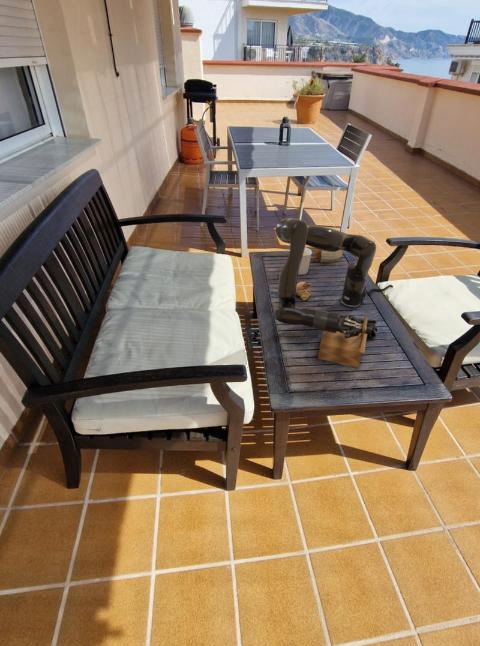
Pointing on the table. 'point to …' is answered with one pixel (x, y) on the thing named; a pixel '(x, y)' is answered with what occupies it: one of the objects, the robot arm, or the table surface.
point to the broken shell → (303, 290)
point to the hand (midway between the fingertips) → (371, 331)
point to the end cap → (371, 324)
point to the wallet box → (339, 356)
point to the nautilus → (326, 256)
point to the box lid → (346, 340)
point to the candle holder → (305, 261)
